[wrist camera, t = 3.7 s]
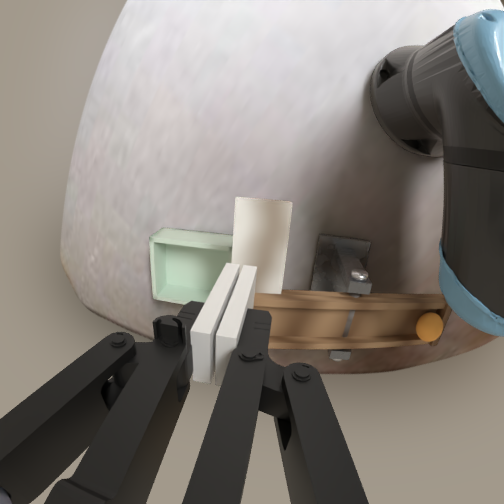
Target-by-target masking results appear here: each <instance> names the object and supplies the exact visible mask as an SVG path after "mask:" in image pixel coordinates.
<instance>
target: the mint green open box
mask: <svg viewBox="0 0 504 504" xmlns="http://www.w3.org/2000/svg"><path fill="white" fill-rule="evenodd" d="M149 242H150V262H151V277H152V290H153V299H156V300H162V301H167V302H172V303H178V304H184V305H185V304H187V303H188V302H190V301H197V302H204V303H205V302H206V300H207V298H208V296H209V294H210V293H211V291H212V289H213V287H214V285H215V283H216V281H217V280H218V278H219V276H220V274H221V272H222V270H223V268H224V267H225V265H226V263H232V246H233V235H227V234H218V233H209V232H200V231H190V230H181V229H172V228H162V229H160V230H159V231H157V232H156V233H155V234H153V235H152V236H150V237H149Z"/></svg>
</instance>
